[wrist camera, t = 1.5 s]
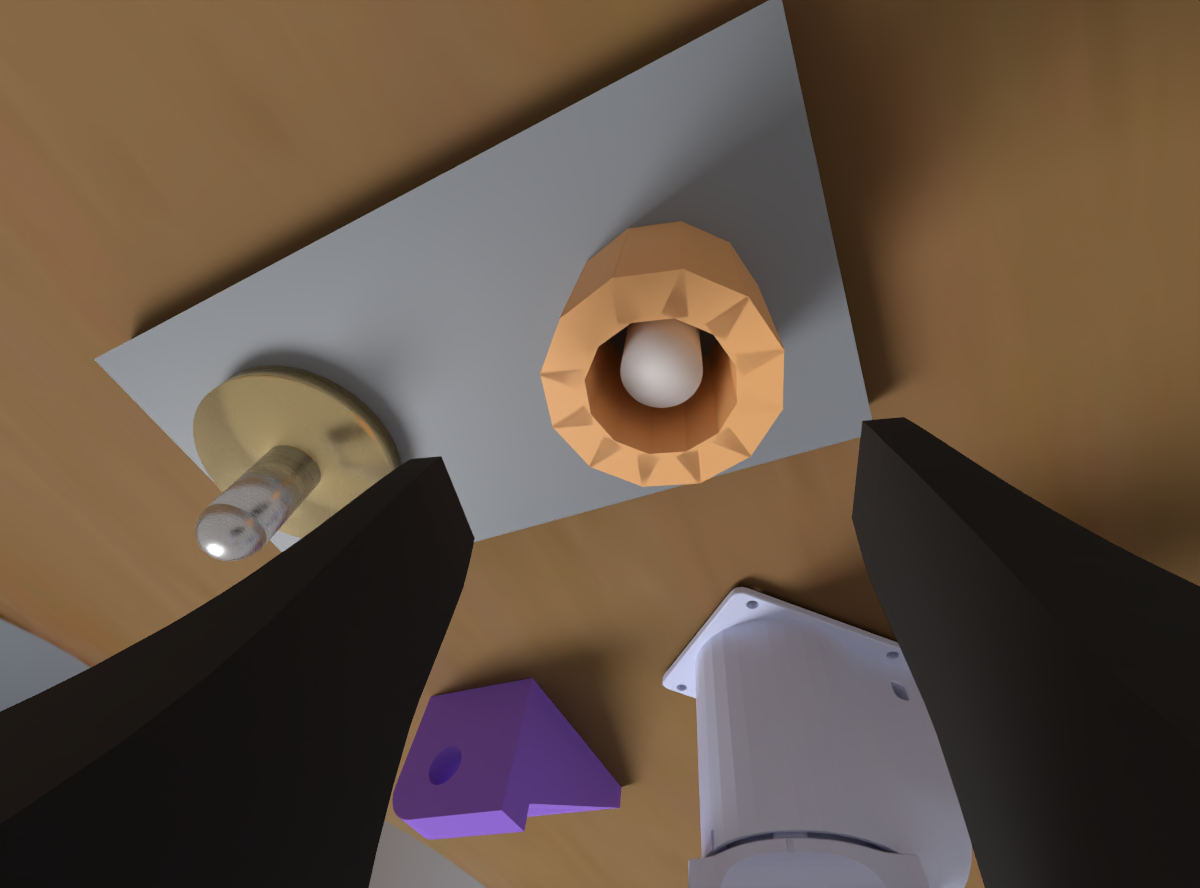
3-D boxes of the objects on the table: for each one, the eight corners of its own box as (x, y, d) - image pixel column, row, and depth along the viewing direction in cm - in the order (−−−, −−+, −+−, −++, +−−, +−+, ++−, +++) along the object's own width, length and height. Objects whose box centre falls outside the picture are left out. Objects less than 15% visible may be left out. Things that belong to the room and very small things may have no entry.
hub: (417, 412, 19) (342, 509, 15) (388, 547, 23) (322, 654, 19) (208, 333, 18) (66, 412, 14) (215, 487, 22) (104, 585, 18)
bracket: (432, 691, 32) (381, 822, 26) (533, 672, 30) (501, 810, 24) (530, 791, 38) (505, 917, 32) (621, 781, 36) (612, 915, 30)
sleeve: (795, 270, 15) (835, 333, 11) (704, 423, 18) (712, 513, 14) (612, 190, 14) (591, 228, 11) (549, 362, 17) (516, 439, 14)
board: (770, 1, 13) (815, -34, 9) (861, 409, 19) (914, 502, 15) (128, 342, 21) (-9, 408, 16) (331, 561, 26) (267, 651, 22)
